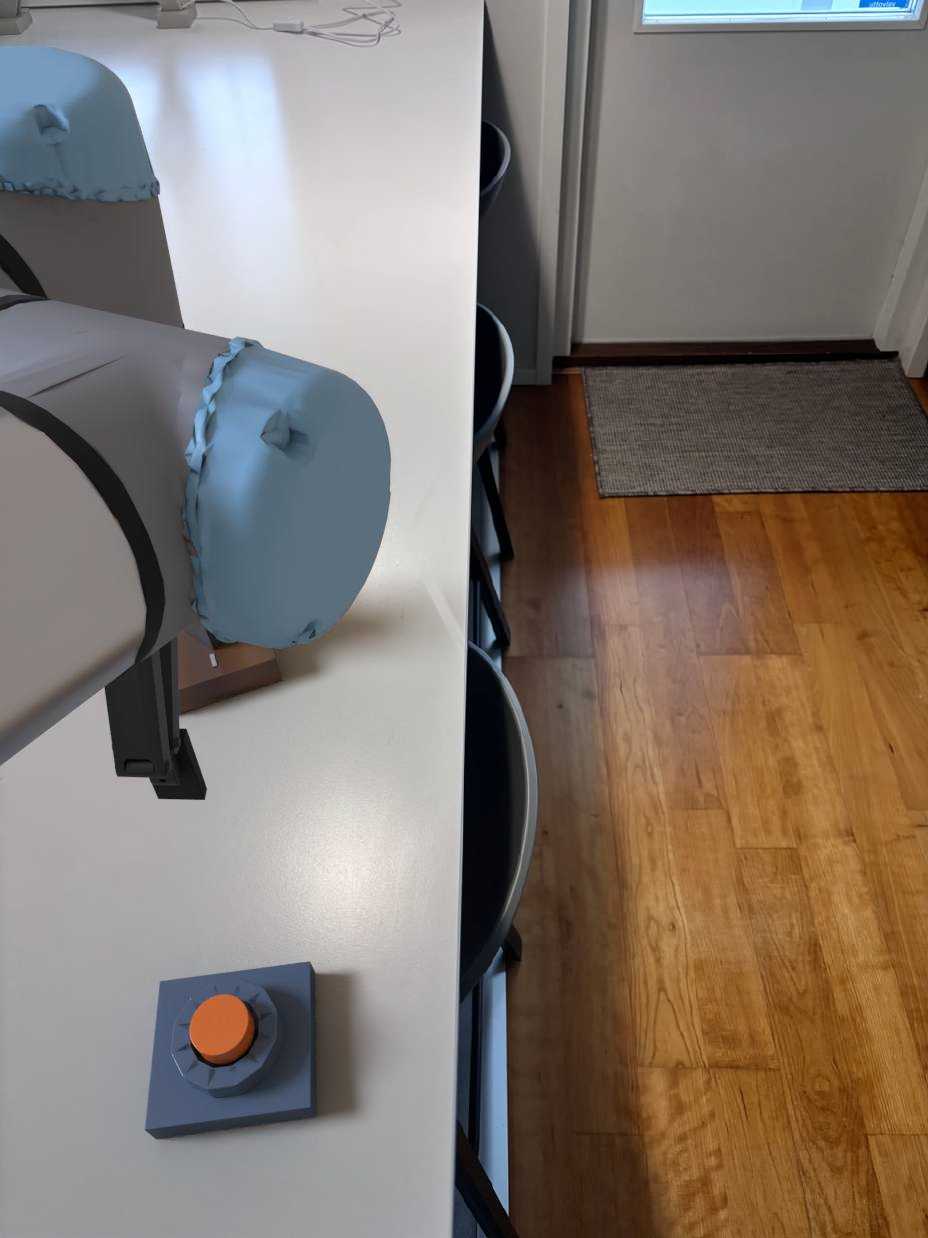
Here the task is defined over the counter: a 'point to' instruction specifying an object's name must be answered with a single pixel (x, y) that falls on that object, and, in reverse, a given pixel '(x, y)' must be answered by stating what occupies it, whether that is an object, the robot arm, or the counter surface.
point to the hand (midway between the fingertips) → (203, 698)
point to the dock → (221, 670)
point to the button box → (255, 1082)
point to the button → (222, 1029)
